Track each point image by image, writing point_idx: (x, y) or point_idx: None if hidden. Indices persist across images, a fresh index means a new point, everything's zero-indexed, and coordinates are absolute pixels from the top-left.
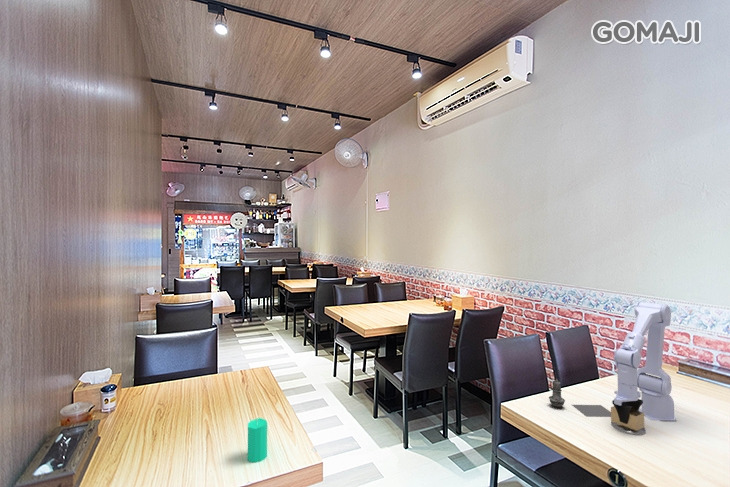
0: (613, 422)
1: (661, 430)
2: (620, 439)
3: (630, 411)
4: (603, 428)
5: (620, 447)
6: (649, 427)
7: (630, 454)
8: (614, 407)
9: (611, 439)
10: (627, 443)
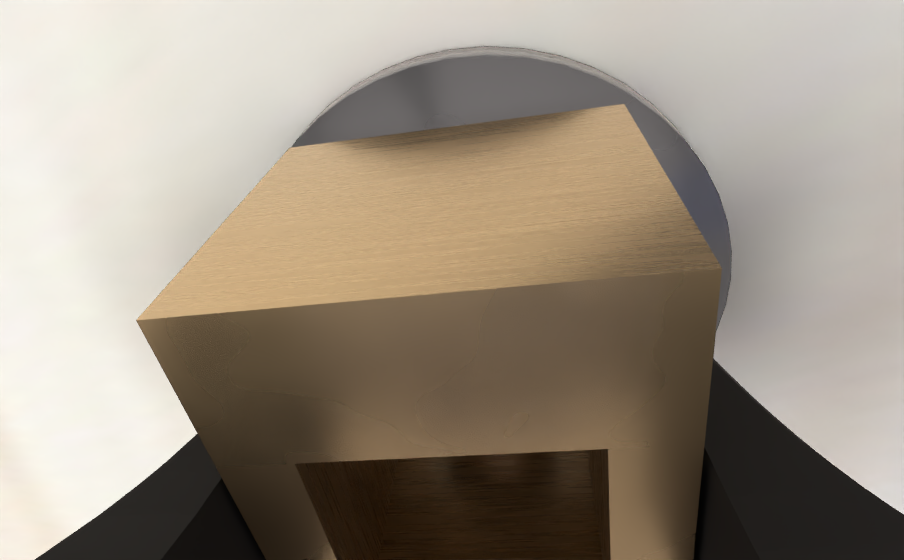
0: (384, 121)
1: (875, 446)
2: (127, 381)
3: (603, 501)
4: (98, 131)
5: (7, 451)
6: (844, 360)
7: (25, 522)
8: (255, 369)
9: (11, 346)
10: (143, 442)
